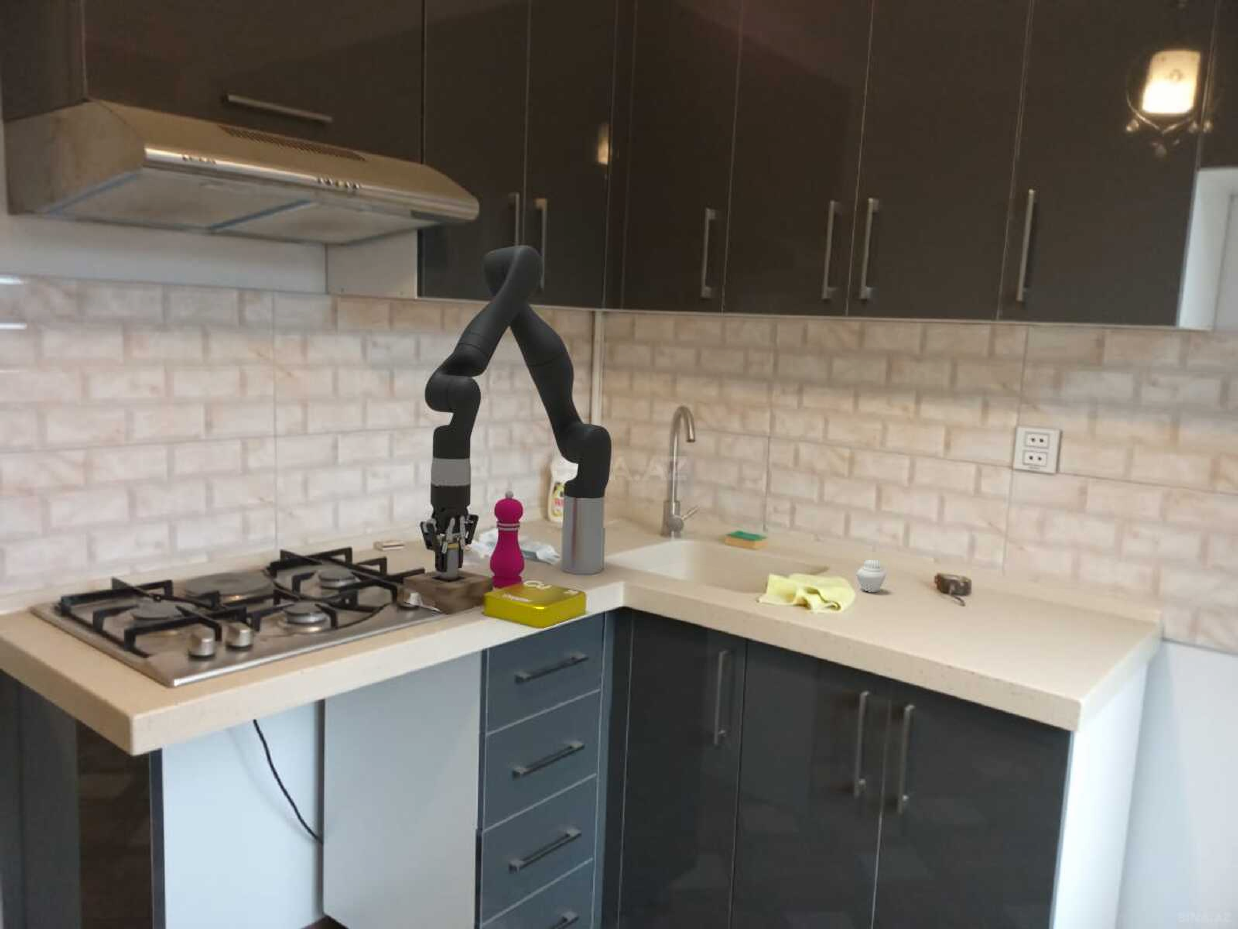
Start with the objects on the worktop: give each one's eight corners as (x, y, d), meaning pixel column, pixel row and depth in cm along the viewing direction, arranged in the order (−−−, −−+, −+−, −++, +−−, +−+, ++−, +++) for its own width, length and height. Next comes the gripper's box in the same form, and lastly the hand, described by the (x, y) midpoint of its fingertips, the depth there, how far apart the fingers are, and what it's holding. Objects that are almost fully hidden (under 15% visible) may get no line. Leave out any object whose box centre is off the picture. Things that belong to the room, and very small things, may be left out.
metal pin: (448, 599, 184) (449, 539, 183) (461, 603, 182) (463, 542, 181) (434, 603, 181) (436, 542, 180) (448, 607, 179) (449, 545, 178)
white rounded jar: (879, 587, 210) (881, 556, 209) (888, 594, 203) (891, 562, 203) (851, 586, 209) (854, 555, 208) (860, 593, 203) (862, 562, 202)
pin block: (448, 591, 190) (448, 567, 189) (492, 603, 183) (493, 577, 183) (403, 603, 180) (403, 578, 179) (448, 616, 173) (448, 589, 173)
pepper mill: (482, 586, 195) (484, 490, 193) (502, 579, 202) (504, 487, 199) (511, 591, 192) (514, 494, 190) (530, 584, 198) (533, 490, 196)
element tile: (477, 616, 175) (478, 591, 175) (528, 600, 188) (528, 577, 187) (542, 632, 167) (543, 606, 167) (590, 614, 180) (591, 590, 179)
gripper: (462, 475, 187) (460, 560, 189) (409, 482, 175) (407, 572, 177) (491, 479, 182) (488, 567, 184) (437, 487, 171) (436, 579, 173)
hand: (448, 569), depth 181 cm, fingers closed on metal pin, 3 cm apart
